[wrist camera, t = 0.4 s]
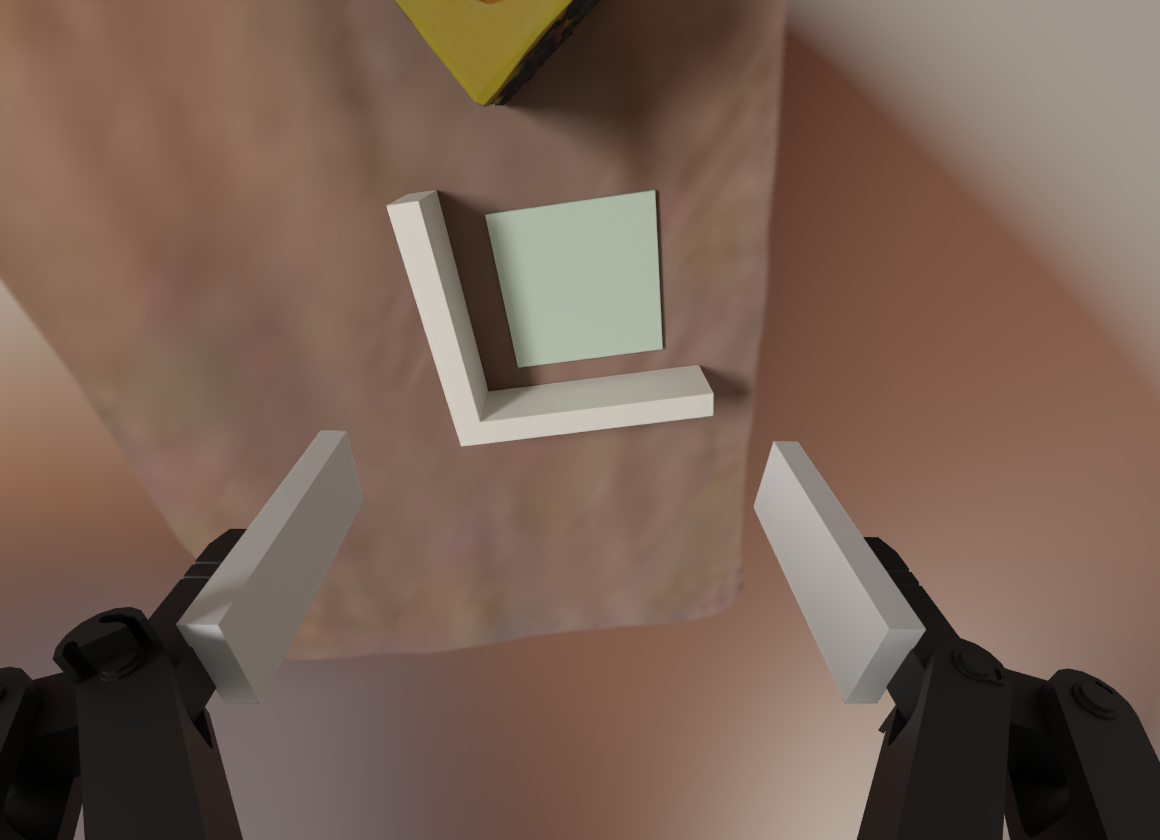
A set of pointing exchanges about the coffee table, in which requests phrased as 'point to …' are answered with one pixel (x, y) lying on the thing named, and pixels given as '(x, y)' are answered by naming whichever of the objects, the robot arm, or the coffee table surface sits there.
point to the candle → (494, 39)
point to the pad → (580, 278)
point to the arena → (524, 407)
